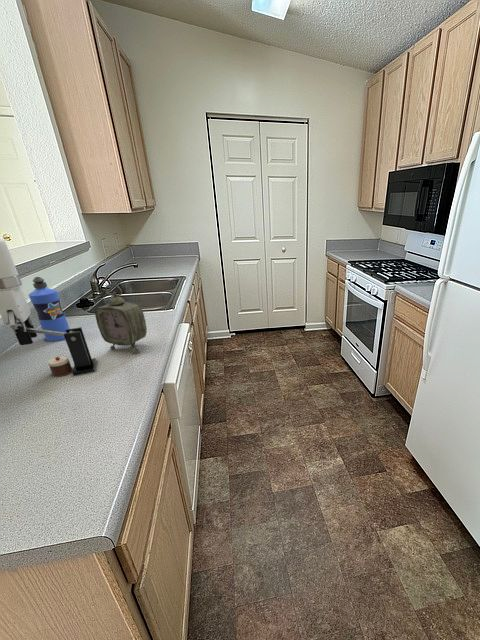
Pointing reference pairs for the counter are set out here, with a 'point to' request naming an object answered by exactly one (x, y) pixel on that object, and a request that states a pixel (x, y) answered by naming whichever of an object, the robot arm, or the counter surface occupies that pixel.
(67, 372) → the cake
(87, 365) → the black upright frame
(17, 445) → the counter surface
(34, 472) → the counter surface
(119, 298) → the tabletop clock
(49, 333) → the lever
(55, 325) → the blue bottle
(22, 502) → the counter surface
